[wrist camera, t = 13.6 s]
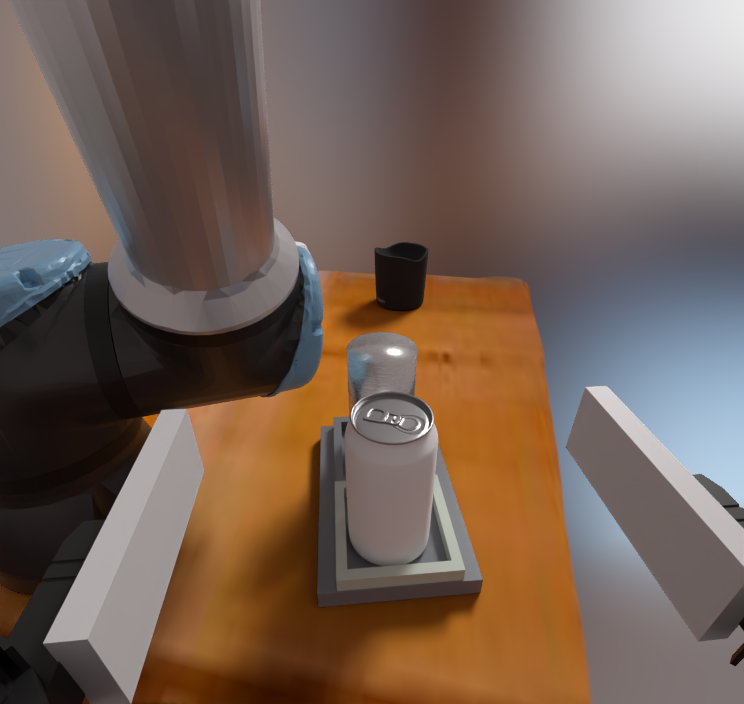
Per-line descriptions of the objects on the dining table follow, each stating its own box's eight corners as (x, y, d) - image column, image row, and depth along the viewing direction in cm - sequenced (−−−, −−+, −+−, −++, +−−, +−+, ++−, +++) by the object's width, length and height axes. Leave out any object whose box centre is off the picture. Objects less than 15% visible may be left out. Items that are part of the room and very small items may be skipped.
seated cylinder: (352, 478, 40) (348, 368, 34) (349, 435, 45) (345, 333, 39) (416, 473, 40) (423, 364, 34) (406, 431, 45) (410, 330, 39)
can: (415, 583, 31) (424, 460, 25) (334, 552, 33) (326, 432, 27) (438, 515, 36) (450, 399, 30) (367, 492, 38) (366, 380, 32)
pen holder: (376, 291, 84) (377, 241, 79) (424, 293, 83) (427, 242, 78) (372, 311, 76) (372, 256, 71) (425, 313, 75) (428, 258, 70)
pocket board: (318, 607, 31) (316, 584, 30) (321, 438, 47) (320, 417, 46) (480, 592, 32) (485, 569, 30) (429, 431, 48) (431, 411, 46)
